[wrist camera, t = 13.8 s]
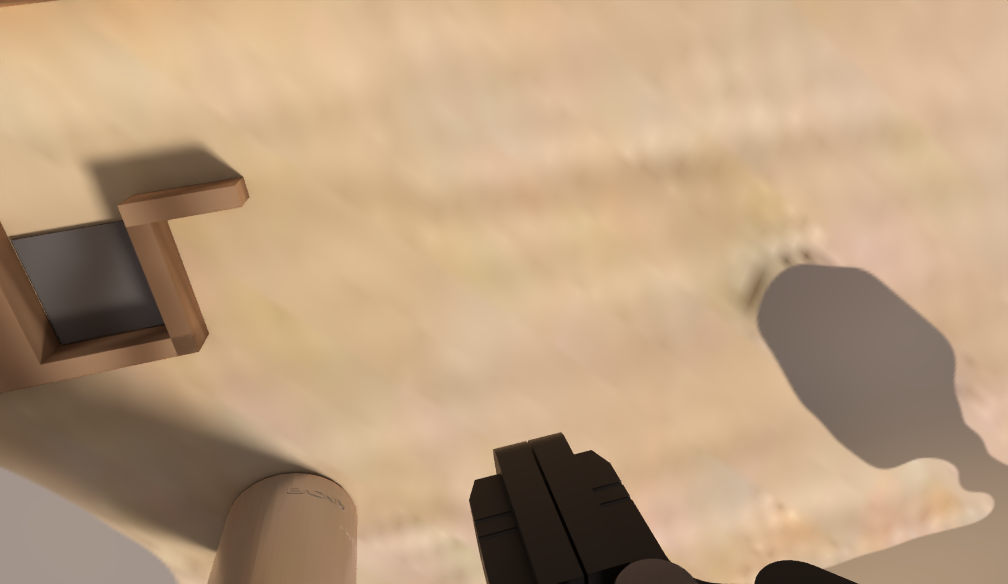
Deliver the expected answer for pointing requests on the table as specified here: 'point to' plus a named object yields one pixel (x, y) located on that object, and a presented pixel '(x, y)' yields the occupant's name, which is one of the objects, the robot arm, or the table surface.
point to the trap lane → (103, 289)
